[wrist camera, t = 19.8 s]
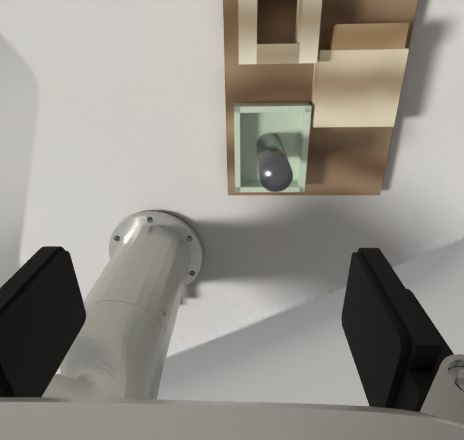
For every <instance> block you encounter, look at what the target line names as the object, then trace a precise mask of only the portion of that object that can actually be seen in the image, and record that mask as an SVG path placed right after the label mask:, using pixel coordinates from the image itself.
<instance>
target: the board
mask: <svg viewBox="0 0 464 440" xmlns="http://www.w3.org/2000/svg"><path fill="white" fill-rule="evenodd" d="M417 2H418V0H322V9H321V21H320V32H319V44H318V50H381V49H408V48H409V43H410V38H411V33H412V28H413V23H414V18H415V12H416V7H417ZM296 8H297V0H257V44H294V43H295V25H296ZM223 15H224V55H225V95H226V135H227V175H228V195H380V192H381V187H382V182H383V177H384V172H385V167H386V161H387V156H388V151H389V146H390V141H391V136H392V131H393V127H313V126H312V125H311V124H310V133H309V145H308V156H307V168H306V180H305V192H235V149H234V104H235V103H272V102H308V103H309V104H310V105H311V98H312V86H313V75H314V63H296V64H239V32H238V0H223Z"/></svg>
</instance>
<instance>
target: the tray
mask: <svg viewBox="0 0 464 440" xmlns="http://www.w3.org/2000/svg"><path fill="white" fill-rule="evenodd" d="M311 109H312V106H311V105H310V104H309V103H308V102H272V103H235V104H234V149H235V192H271V191H268V190H267V189H265V188H264V187H263V186H262V184H261V182H260V177H259V167H258V157H257V147H256V145H257V141H258V139H259V138H260V137H261V136H262V135H263V134H266V133H274V134H276V135H277V136H279V138H280V139H281V142H282V144H283V147H284V150H285V153H286V155H287V158H288V161H289V164H290V166H291V169H292V172H293V179H292V182H291V184H290V185H289V186H288V187H287V188H286V189H285V190H283V191H280V192H305V180H306V168H307V156H308V145H309V133H310V121H311Z"/></svg>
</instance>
